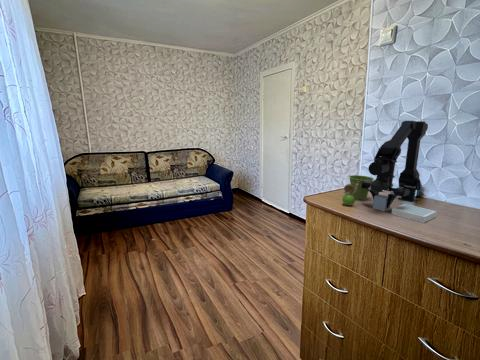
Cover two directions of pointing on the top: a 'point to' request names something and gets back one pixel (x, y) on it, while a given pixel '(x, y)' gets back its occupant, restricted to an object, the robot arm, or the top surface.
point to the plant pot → (360, 192)
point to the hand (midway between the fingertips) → (381, 206)
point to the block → (380, 202)
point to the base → (414, 213)
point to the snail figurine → (349, 194)
